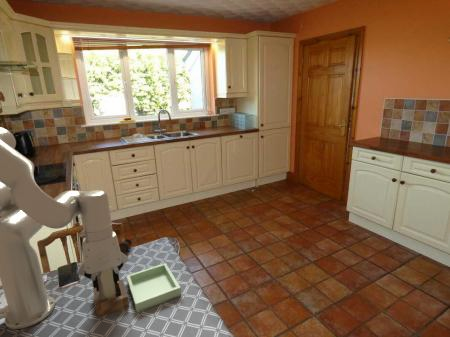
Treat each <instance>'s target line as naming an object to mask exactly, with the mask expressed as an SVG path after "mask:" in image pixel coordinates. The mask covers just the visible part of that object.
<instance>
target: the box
mask: <svg viewBox="0 0 450 337" xmlns="http://www.w3.org/2000/svg"><path fill="white" fill-rule="evenodd" d="M96 275H97V280H98V287H99V294H100V300H101V303H102V302H105V301H107V300H110V299H113V298H116V297H117V293H116V290H115V283H114V276H113V268H111V266H110V267H109V269H106V270H103V271H100V272H96Z"/></svg>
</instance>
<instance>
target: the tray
mask: <svg viewBox="0 0 450 337" xmlns="http://www.w3.org/2000/svg"><path fill="white" fill-rule="evenodd" d="M125 276H126V282H127V287H128V289H129V291H130V292H129V293H130V296H131V298H132V302H133V304H134V309H135V311H136V313H139V312H142V311H145V310H147V309H151V308H152V307H155V306H157V305H160V304H162V303H163V304H164V303H165V302H169V301H171V300H173V299H176V298H178V297H182V288H181V286H180V284H179V282H178V280H177V279H176V278H175V276H174V273H172V271H171V268H169V266H168V264H167V263H166V262H165V263H161V264H158V265H155V266H151V267H149V268H146V269H143V270H140V271H136V272H133V273H131V274H127V275H125Z"/></svg>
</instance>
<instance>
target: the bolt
mask: <svg viewBox="0 0 450 337" xmlns="http://www.w3.org/2000/svg"><path fill="white" fill-rule="evenodd" d="M132 243H133V242H132V240H131V239H127V238H126V239H125V240H123V241H120V243H119V247H120V251H121V252H122V253H123V254H125V253H128V252H129V250H130V249H131V245H132Z"/></svg>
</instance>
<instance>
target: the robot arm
mask: <svg viewBox="0 0 450 337" xmlns="http://www.w3.org/2000/svg"><path fill="white" fill-rule="evenodd" d="M16 145H17V140H16V138H15V136H14V134H12V132H10V130H8V129H6V128H4V127H1V126H0V283H1V286H2V290H3V293H4V296H5V297H4V298H5V300H6V303H7V305H4V306H3V307H2V308H0V320H2V319H4V322H5V326H6V327H7V328H9V329H12V330H19V329H25V328H28V327H31V326H33V325H37V323H39V322H42V321H43V320H45V319H46V318H47V317H48V316H50V314H51V313H52V312H53V310H54V309H55V307H56V301H55V298H54V297H53V296H50V295H48V293H47V289H46V286H45V285H46V284H45V280H44V277H43V273H42V269H41V265H40V264H41V263H40V261H39V260H40V259H39V256H38V254H37V252H36V251H37V250H35V249H34V247H33V246H32V245H31V243H30V240H31V239H32V238H33V237H34V236H35V235H36V234H37V233H38V232H39V231H40V230H41V229H42V228H43V227H44V226H45V227H46V228H49V229H55V230H56V229H57V230H58V229H62V228H65V227H66V226H68V225H70V223H71V222H72V221H73V220H74V219H75V218H76V217H78V216H80V215H81V220H82V227H83V230H82V231H81V232H78V237H79V238H83V239H82V246H81V247H82V258H83V261H82V262H81V264H80V265H79V267H78V269H77V270H76V273H77V275H78V276H81V277H82V276H83V277H84V278H87V279H89V280H90V281H91V282H92V288H96V290H97V292H98V291H99V287H98V280H97V274H96V272H100V271H103V270H106V269H109V267H110V266H111V268H113V276H114V282H115V285H116V286H117V285H118V283H117V281H119V280H120V271H121V269H122V268H123V267H124V265H126V264H127V262H128V261H129V260H130V259H129V256H128V255H126V254H125V253H124V254H123V253H122V252H121V251H120V247H119V244H120V243H119V239H118V236H117V234H116V232H115V231H114V230H113V224H112V217H111V210H110V204H109V203H110V202H109V196H108V194H107V192H106V191H104V190H101V189H100V190H99V189H95V190H89V191H86V190H84V191H83V190H82V191H81V190H73V189H72V190H66V191H63V192H61V193H59V194H58V195H57V196H55V197H54V198H53V197H52V196H50V195H49V194H47V193H46V192H45V191H44V190H43V189H42V188H40V186H39V185H38V184H37V182H36V180H35V175H34V172H35V165H34V162H32V161H31V160H30V159H29V158H27V157H26V156H25V155H23V154H22V153H20V152H19V151H18V150H17V149H15V148H16Z"/></svg>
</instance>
